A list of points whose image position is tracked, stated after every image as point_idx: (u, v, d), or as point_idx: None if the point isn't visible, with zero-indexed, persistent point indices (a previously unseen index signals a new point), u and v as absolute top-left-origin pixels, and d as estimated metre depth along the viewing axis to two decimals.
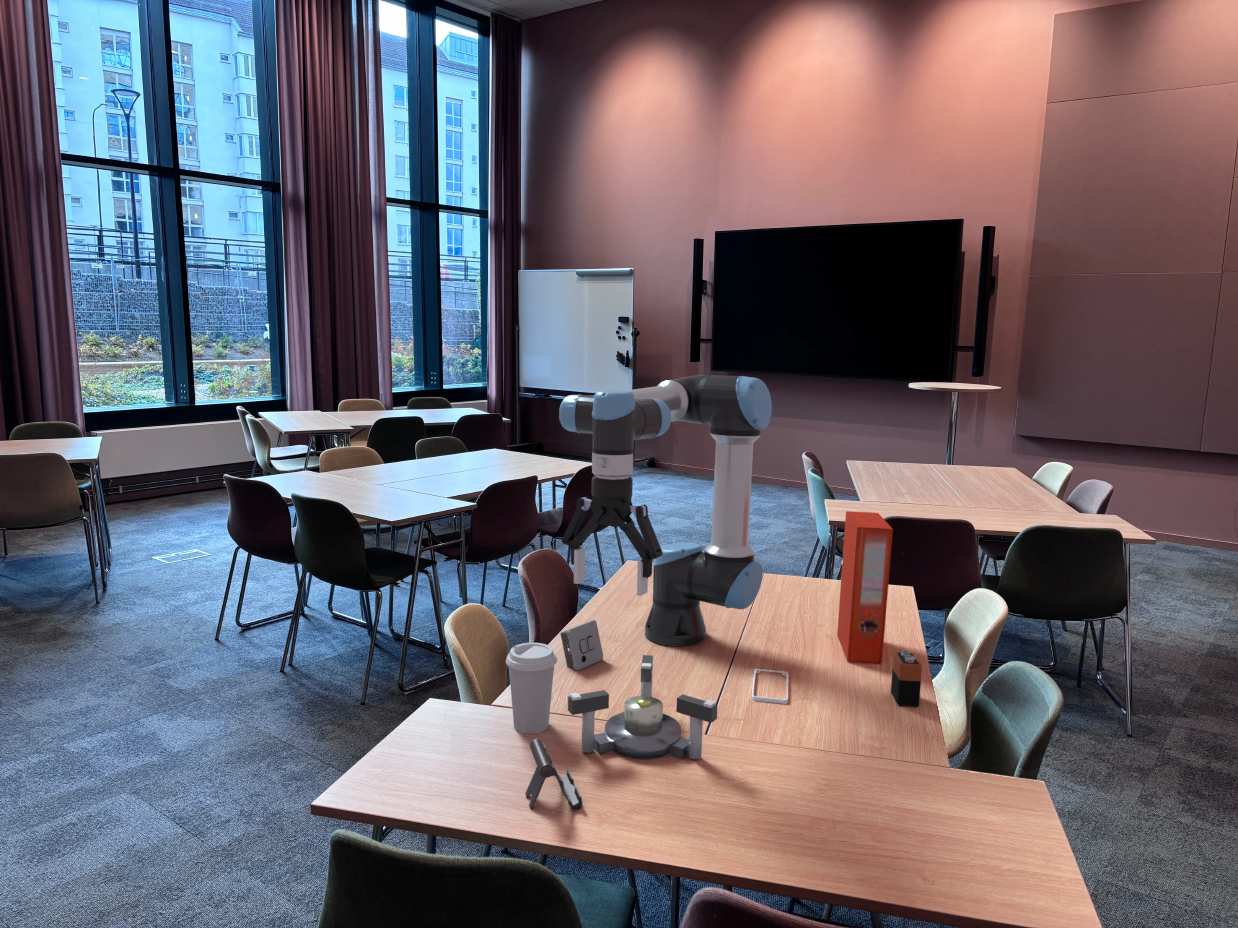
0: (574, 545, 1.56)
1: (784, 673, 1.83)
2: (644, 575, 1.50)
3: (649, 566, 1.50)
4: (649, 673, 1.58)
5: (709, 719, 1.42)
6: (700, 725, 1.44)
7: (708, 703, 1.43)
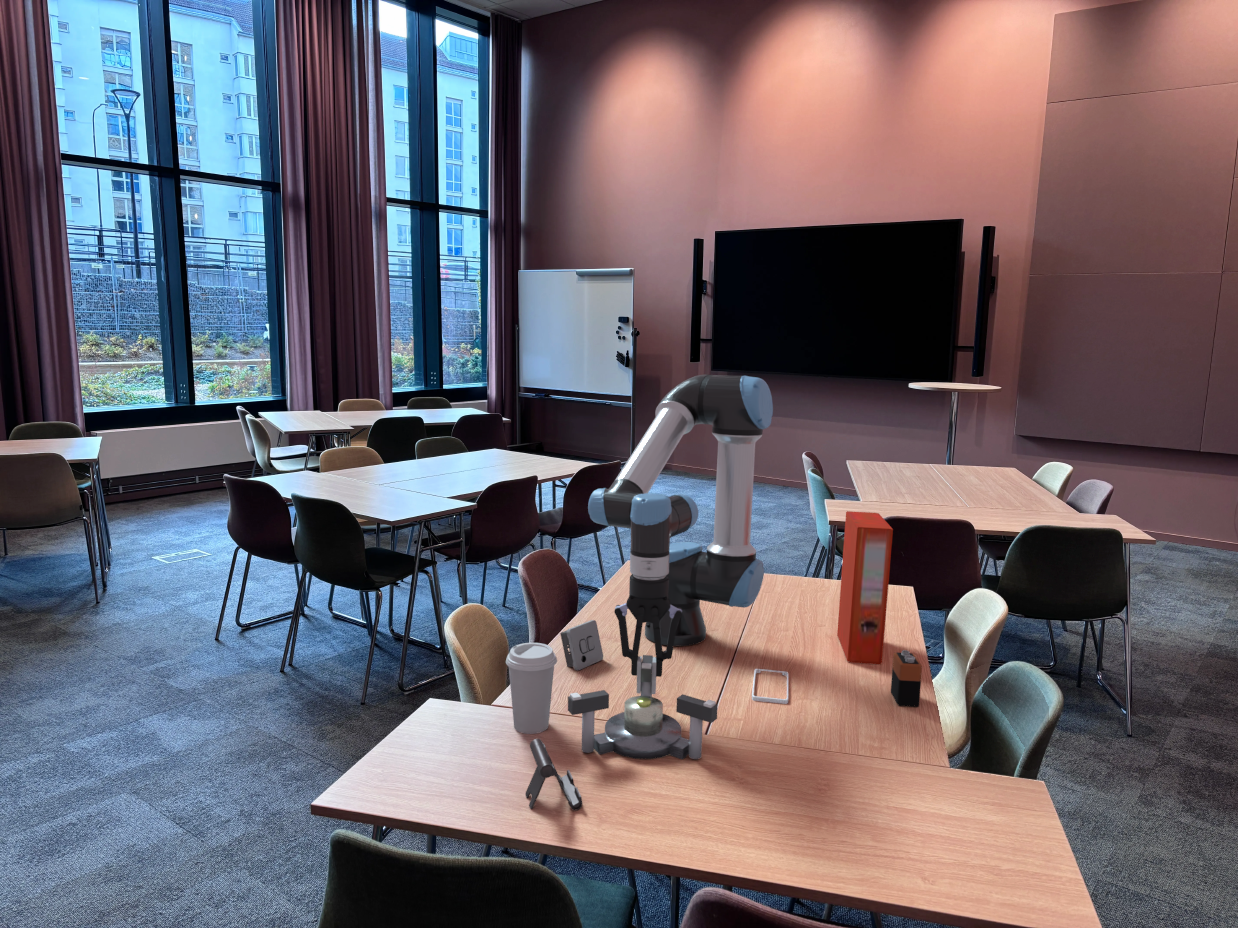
0: (636, 655, 1.60)
1: (784, 673, 1.83)
2: (657, 674, 1.61)
3: None
4: (649, 673, 1.58)
5: (709, 719, 1.42)
6: (700, 725, 1.44)
7: (708, 703, 1.43)
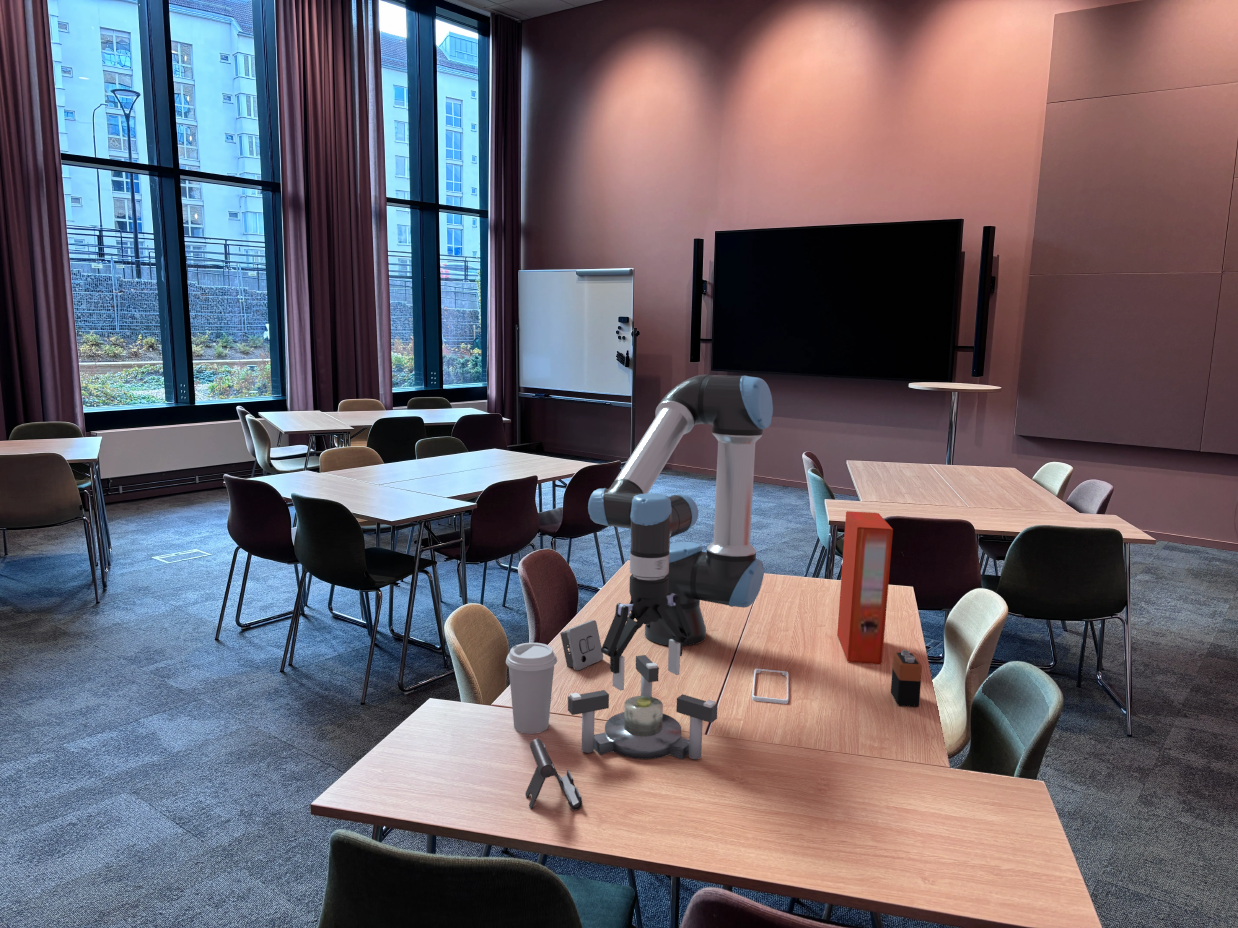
0: (620, 653, 1.56)
1: (784, 673, 1.83)
2: None
3: None
4: (656, 672, 1.59)
5: (709, 719, 1.42)
6: (700, 725, 1.44)
7: (708, 703, 1.43)
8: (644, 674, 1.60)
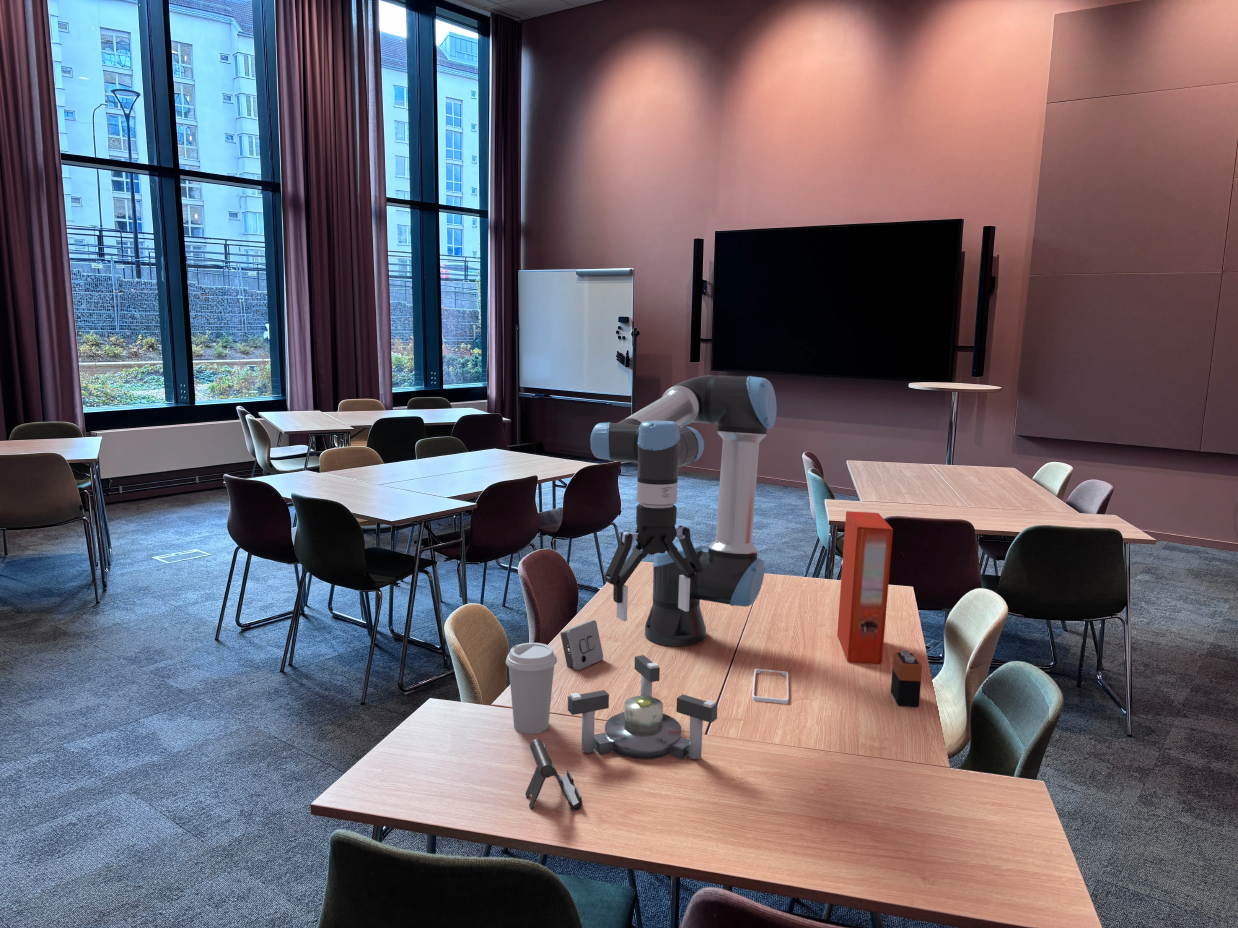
0: (623, 582, 1.52)
1: (784, 673, 1.83)
2: None
3: (692, 581, 1.60)
4: (658, 672, 1.59)
5: (709, 719, 1.42)
6: (700, 725, 1.44)
7: (708, 703, 1.43)
8: (645, 674, 1.60)
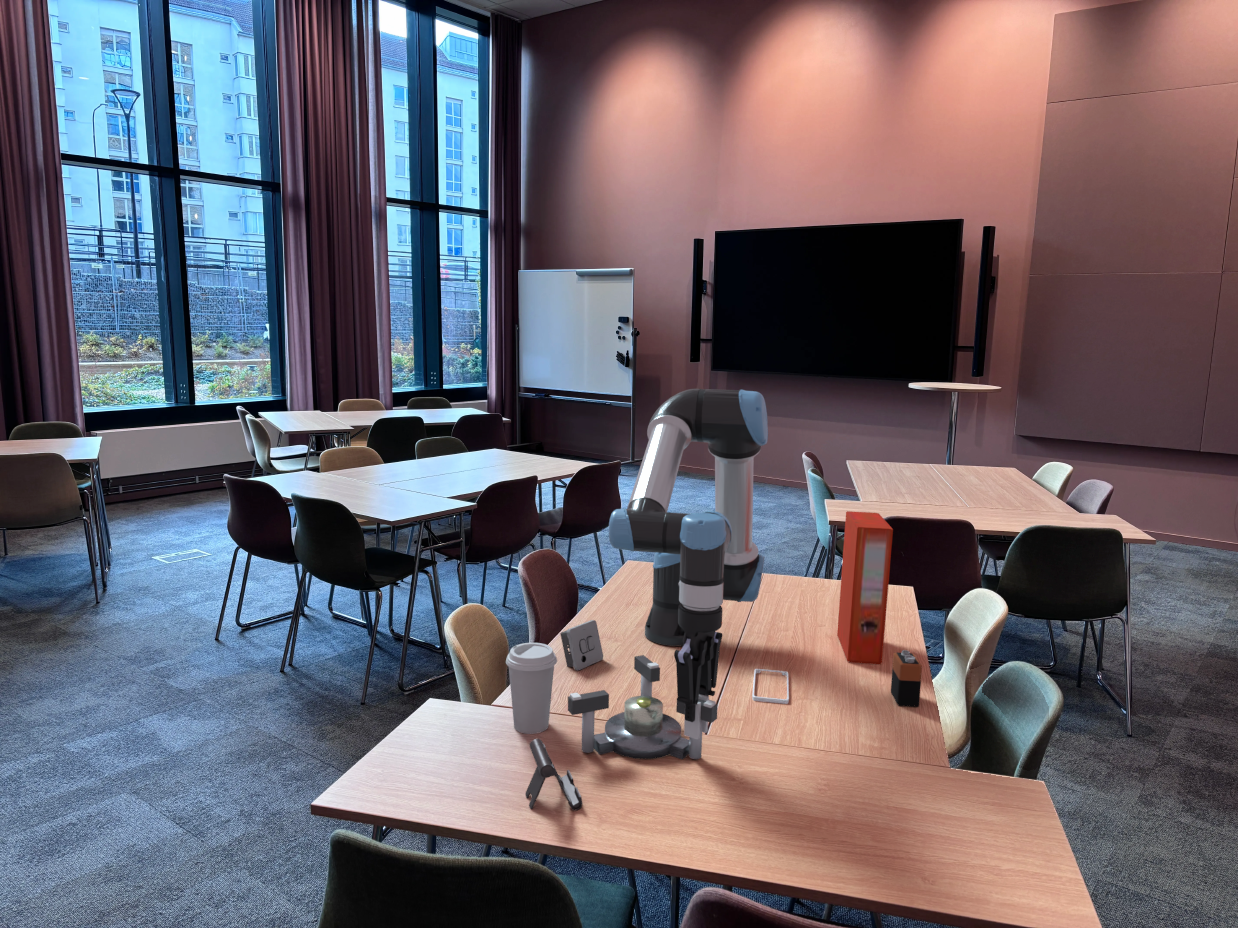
0: None
1: (784, 673, 1.83)
2: None
3: (686, 709, 1.42)
4: (658, 672, 1.59)
5: (709, 719, 1.42)
6: (700, 725, 1.44)
7: (708, 703, 1.43)
8: (645, 674, 1.60)
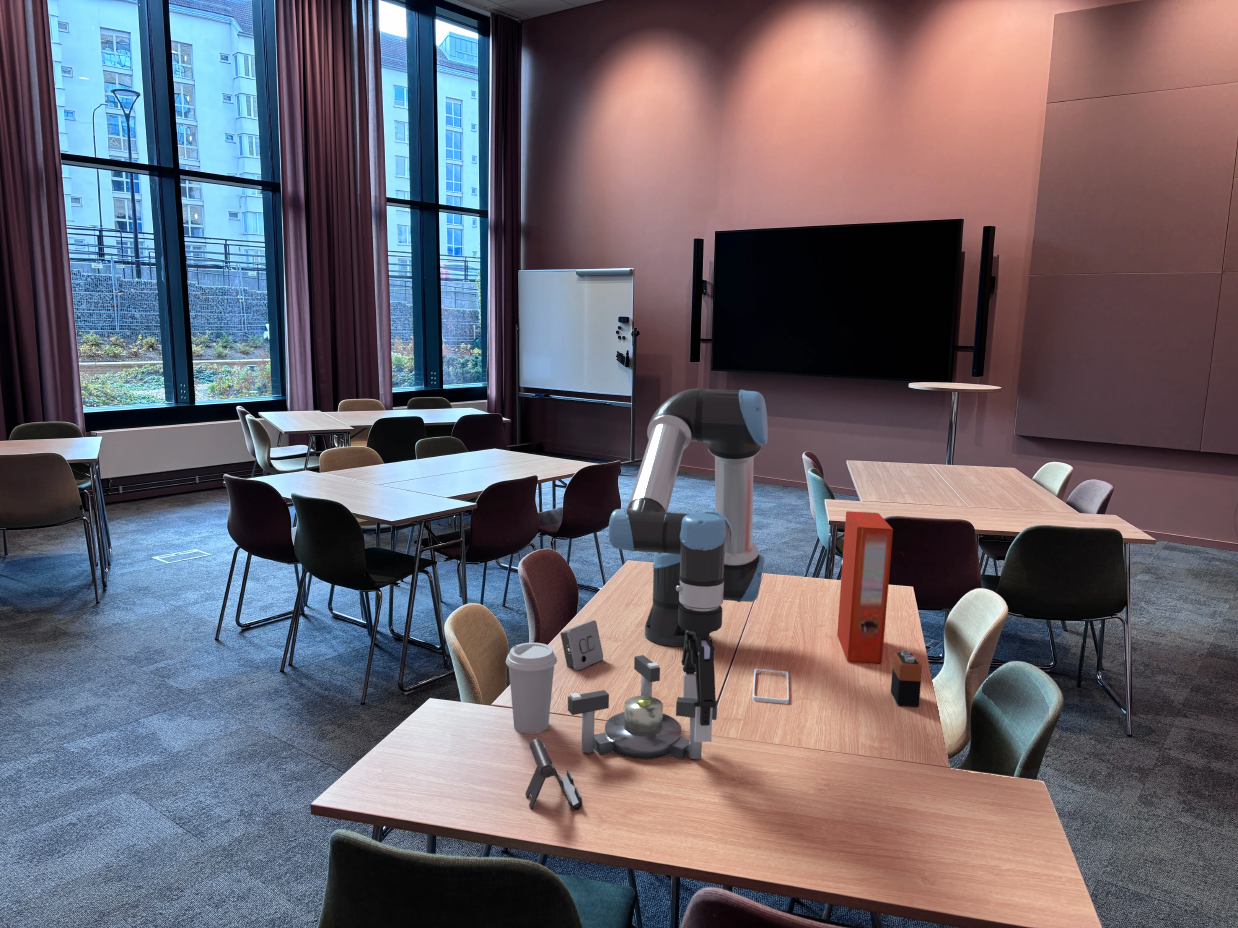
0: (684, 669, 1.50)
1: (784, 673, 1.83)
2: (700, 721, 1.38)
3: (703, 714, 1.37)
4: (658, 672, 1.59)
5: (713, 717, 1.43)
6: None
7: None
8: (645, 674, 1.60)
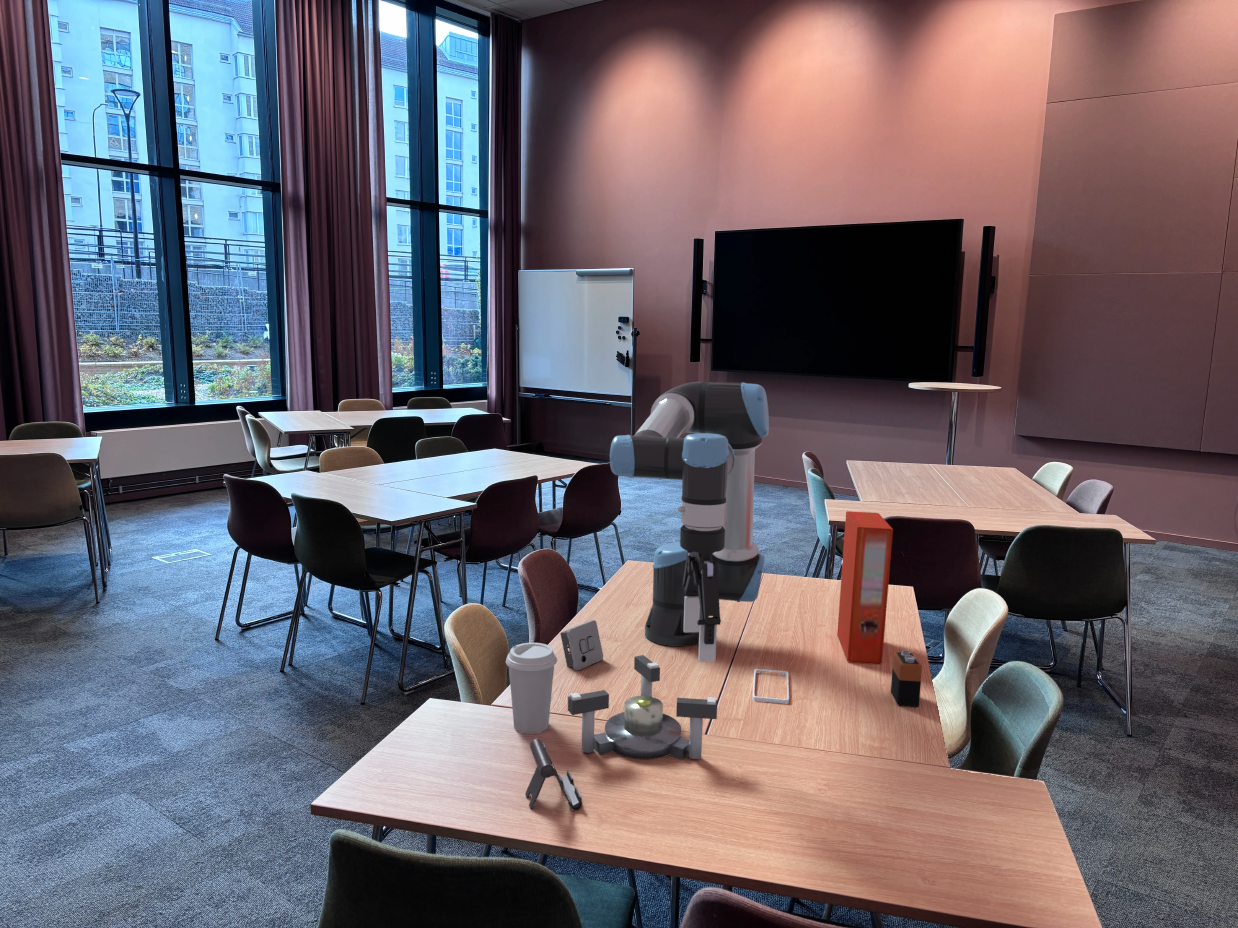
0: (685, 591, 1.49)
1: (784, 673, 1.83)
2: (704, 640, 1.35)
3: (707, 632, 1.34)
4: (658, 672, 1.59)
5: (713, 716, 1.44)
6: (702, 724, 1.45)
7: (711, 700, 1.44)
8: (645, 674, 1.60)
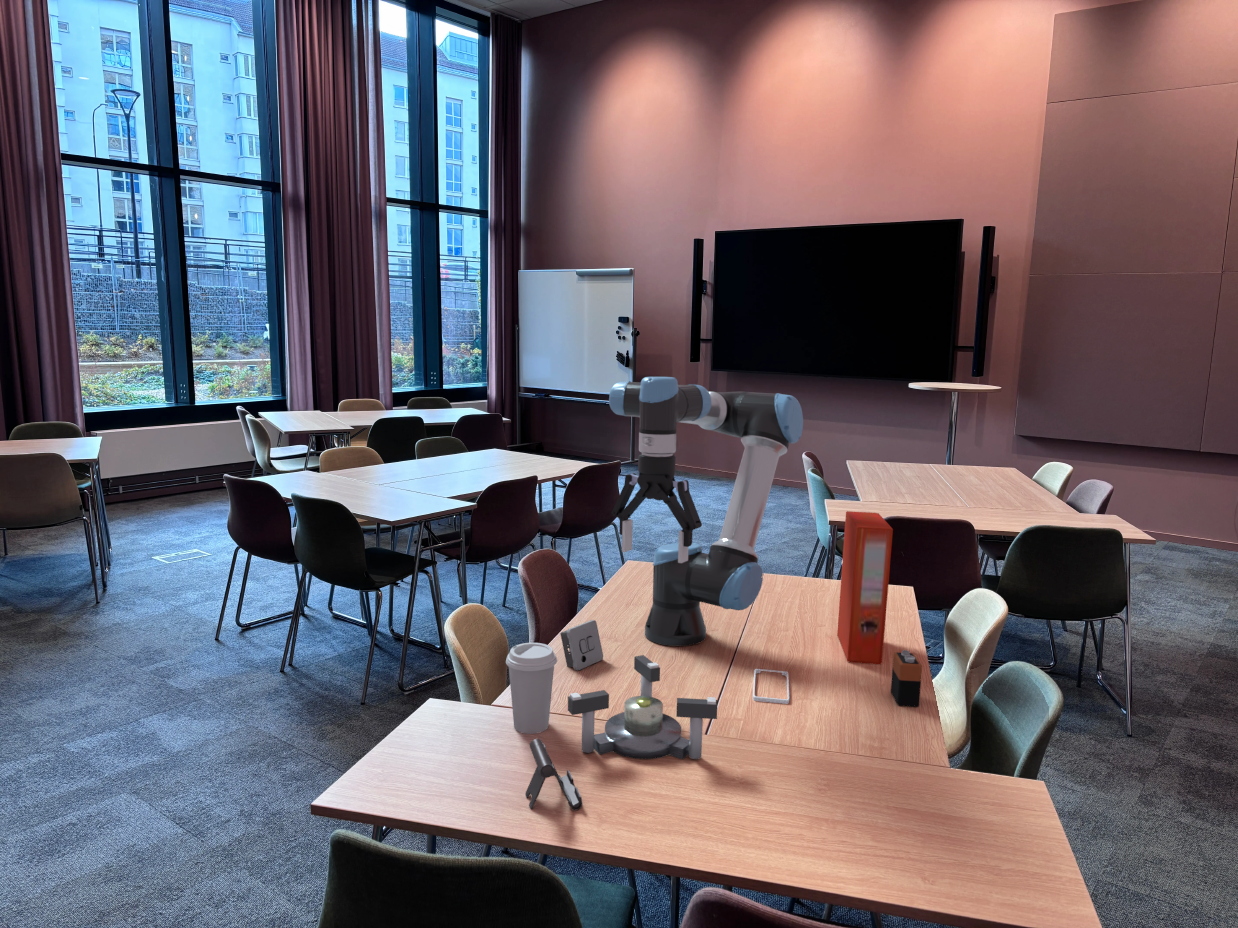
0: (622, 517, 1.72)
1: (784, 673, 1.83)
2: (685, 544, 1.65)
3: (689, 536, 1.65)
4: (658, 672, 1.59)
5: (714, 716, 1.44)
6: (702, 724, 1.45)
7: (711, 700, 1.44)
8: (645, 674, 1.60)
